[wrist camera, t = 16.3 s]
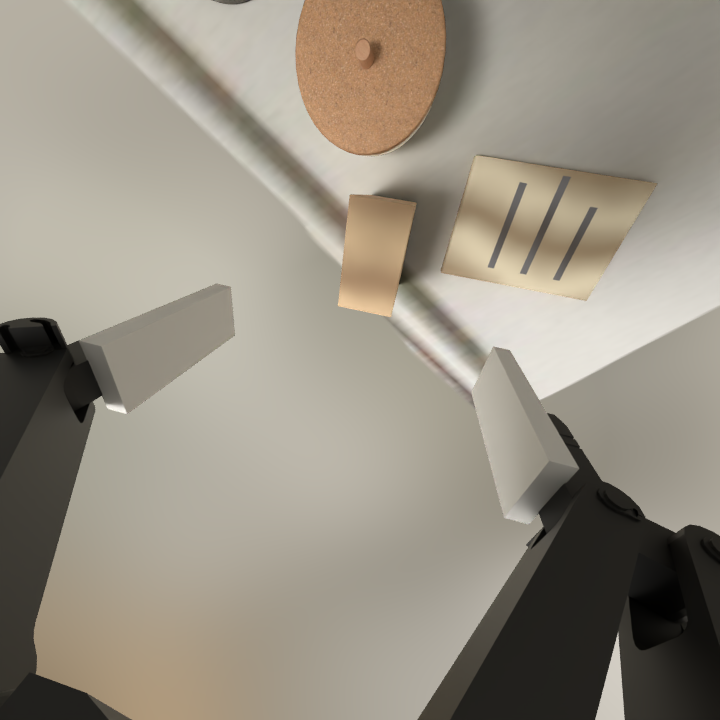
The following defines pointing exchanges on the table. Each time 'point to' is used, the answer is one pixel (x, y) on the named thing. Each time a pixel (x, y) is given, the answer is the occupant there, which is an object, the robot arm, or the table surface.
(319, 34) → the lidded jar
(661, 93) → the table surface
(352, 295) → the block
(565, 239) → the board
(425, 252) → the table surface
